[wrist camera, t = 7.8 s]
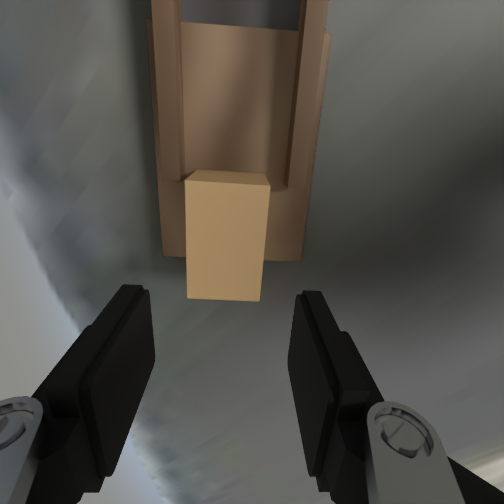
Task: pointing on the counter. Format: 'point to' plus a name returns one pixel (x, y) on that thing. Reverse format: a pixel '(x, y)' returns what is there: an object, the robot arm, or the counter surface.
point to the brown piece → (238, 105)
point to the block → (225, 234)
